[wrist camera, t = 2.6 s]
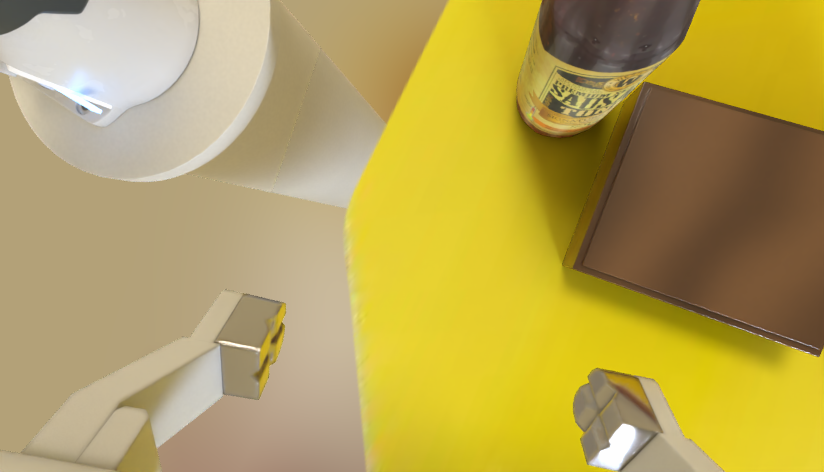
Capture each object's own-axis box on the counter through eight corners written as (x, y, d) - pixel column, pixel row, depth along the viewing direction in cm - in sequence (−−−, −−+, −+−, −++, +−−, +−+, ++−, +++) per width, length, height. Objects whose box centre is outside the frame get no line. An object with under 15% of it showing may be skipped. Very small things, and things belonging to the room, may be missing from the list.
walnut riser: (561, 264, 29) (573, 269, 25) (624, 100, 28) (647, 78, 25) (775, 341, 27) (825, 359, 23) (849, 165, 26) (913, 152, 22)
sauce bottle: (525, 152, 30) (606, -18, 10) (505, 67, 30) (546, -258, 10) (621, 127, 29) (923, -115, 9) (600, 40, 29) (847, -381, 9)
